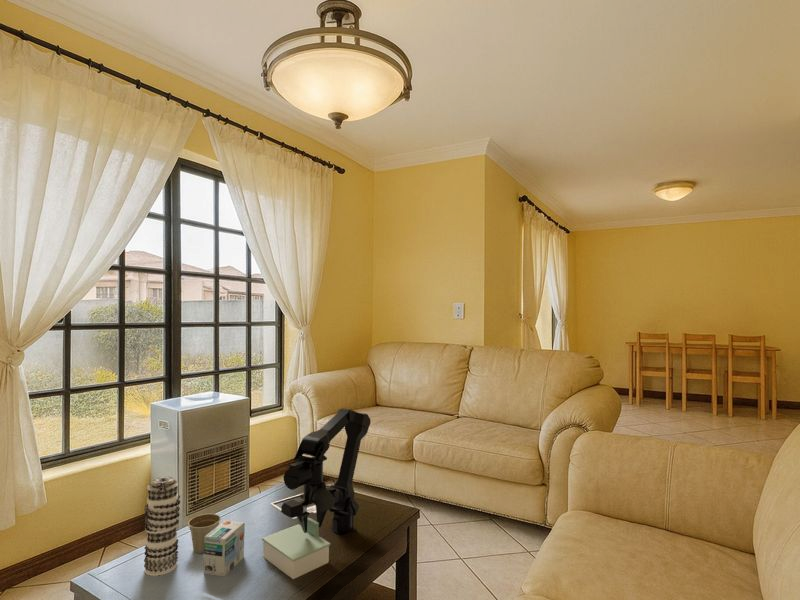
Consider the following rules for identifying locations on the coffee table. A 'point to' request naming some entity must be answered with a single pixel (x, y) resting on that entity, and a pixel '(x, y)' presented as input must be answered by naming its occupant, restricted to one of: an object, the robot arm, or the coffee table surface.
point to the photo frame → (309, 509)
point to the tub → (299, 565)
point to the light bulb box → (224, 548)
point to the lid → (297, 541)
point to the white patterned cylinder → (161, 526)
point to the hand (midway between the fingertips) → (312, 529)
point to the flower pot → (202, 529)
